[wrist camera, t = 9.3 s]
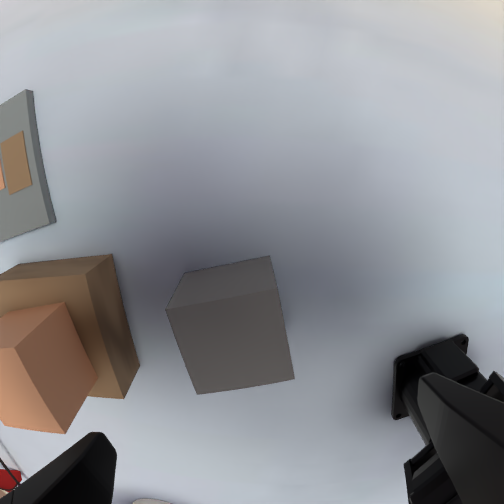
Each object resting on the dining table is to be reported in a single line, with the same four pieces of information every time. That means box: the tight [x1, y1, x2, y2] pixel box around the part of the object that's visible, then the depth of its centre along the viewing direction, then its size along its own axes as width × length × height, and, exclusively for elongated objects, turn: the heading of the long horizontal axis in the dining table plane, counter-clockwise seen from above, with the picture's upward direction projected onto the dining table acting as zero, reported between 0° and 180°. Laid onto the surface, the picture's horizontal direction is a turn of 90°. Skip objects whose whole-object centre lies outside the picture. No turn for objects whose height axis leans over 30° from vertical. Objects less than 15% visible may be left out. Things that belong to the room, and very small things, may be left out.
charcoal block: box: [165, 256, 295, 395], centre depth 17 cm, size 5×5×5 cm
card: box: [0, 89, 56, 242], centre depth 16 cm, size 9×6×1 cm, turn 12°
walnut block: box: [0, 254, 140, 399], centre depth 18 cm, size 8×8×4 cm
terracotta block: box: [0, 302, 98, 434], centre depth 13 cm, size 5×5×5 cm
